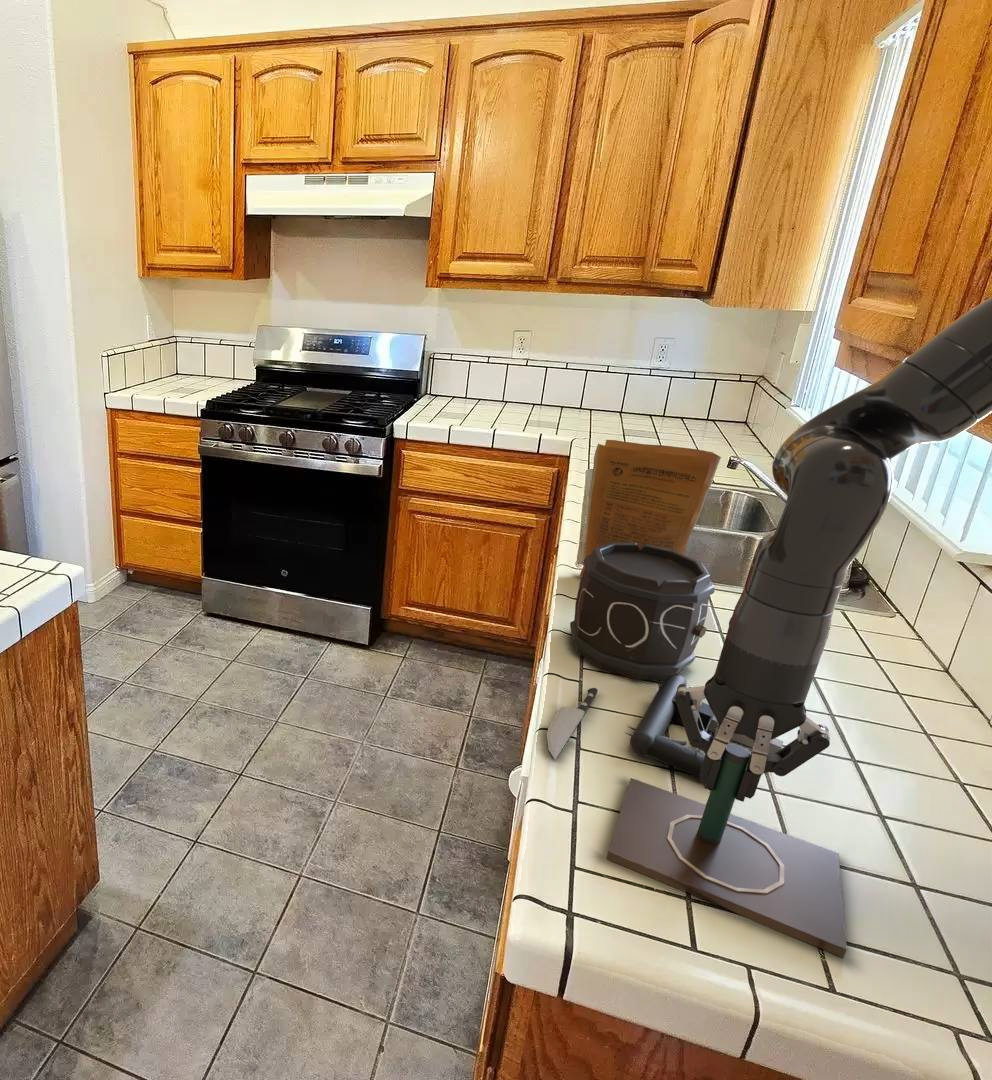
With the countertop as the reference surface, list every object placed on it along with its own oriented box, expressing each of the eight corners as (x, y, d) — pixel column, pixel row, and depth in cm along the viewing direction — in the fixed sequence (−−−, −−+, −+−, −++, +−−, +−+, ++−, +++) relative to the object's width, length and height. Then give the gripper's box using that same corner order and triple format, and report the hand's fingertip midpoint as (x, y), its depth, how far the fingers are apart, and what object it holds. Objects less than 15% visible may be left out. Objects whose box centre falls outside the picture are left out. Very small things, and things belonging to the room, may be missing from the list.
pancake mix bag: (678, 610, 132) (720, 456, 122) (566, 582, 142) (597, 436, 131) (683, 597, 137) (724, 448, 127) (575, 570, 147) (605, 430, 137)
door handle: (790, 715, 98) (660, 666, 107) (770, 794, 84) (621, 729, 92) (781, 736, 100) (653, 685, 109) (760, 817, 85) (614, 750, 94)
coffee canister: (660, 700, 105) (688, 599, 99) (545, 647, 118) (564, 554, 112) (714, 662, 116) (742, 568, 110) (604, 617, 128) (624, 531, 123)
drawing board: (835, 860, 78) (839, 852, 78) (843, 958, 67) (847, 949, 67) (628, 784, 88) (631, 776, 87) (606, 858, 77) (608, 850, 76)
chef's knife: (530, 752, 93) (554, 761, 91) (531, 744, 92) (555, 753, 91) (576, 687, 107) (598, 693, 105) (577, 680, 107) (599, 686, 105)
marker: (722, 834, 79) (751, 748, 75) (720, 848, 78) (750, 760, 73) (697, 825, 80) (725, 740, 76) (695, 838, 79) (723, 751, 75)
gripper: (686, 635, 71) (645, 784, 77) (867, 683, 64) (805, 842, 70) (694, 606, 77) (655, 747, 83) (860, 648, 70) (804, 797, 76)
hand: (724, 790), depth 77 cm, fingers closed on marker, 2 cm apart
